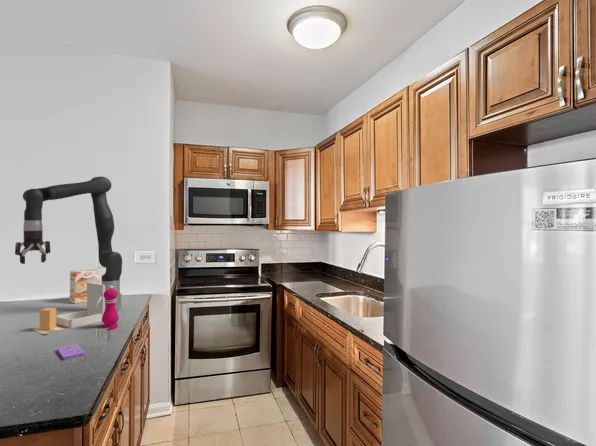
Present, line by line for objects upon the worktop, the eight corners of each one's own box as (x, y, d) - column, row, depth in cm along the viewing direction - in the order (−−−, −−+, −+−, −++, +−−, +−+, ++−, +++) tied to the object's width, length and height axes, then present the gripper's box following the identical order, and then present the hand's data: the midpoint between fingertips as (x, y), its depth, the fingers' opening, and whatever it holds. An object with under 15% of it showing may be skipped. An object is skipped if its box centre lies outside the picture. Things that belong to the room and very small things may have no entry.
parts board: (52, 326, 174) (52, 324, 174) (65, 330, 168) (65, 328, 168) (30, 331, 166) (30, 329, 166) (43, 335, 160) (43, 333, 160)
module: (46, 327, 169) (46, 307, 169) (56, 327, 169) (56, 307, 169) (39, 330, 165) (39, 310, 165) (49, 330, 165) (49, 310, 165)
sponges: (77, 348, 146) (77, 343, 146) (85, 356, 137) (85, 351, 137) (56, 352, 141) (56, 347, 141) (63, 361, 132) (63, 356, 132)
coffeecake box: (75, 304, 222) (75, 272, 222) (69, 302, 226) (69, 271, 226) (99, 299, 235) (99, 269, 235) (93, 298, 239) (94, 268, 239)
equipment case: (89, 318, 190) (89, 282, 190) (104, 322, 183) (105, 285, 183) (54, 325, 176) (54, 287, 176) (70, 330, 169) (70, 290, 169)
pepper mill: (111, 330, 169) (112, 287, 169) (98, 329, 170) (98, 286, 170) (122, 326, 176) (122, 284, 176) (108, 325, 177) (109, 284, 177)
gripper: (19, 230, 171) (19, 265, 171) (52, 229, 183) (53, 262, 183) (12, 230, 174) (12, 264, 175) (45, 229, 187) (45, 261, 187)
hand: (33, 263), depth 179 cm, fingers open, 8 cm apart
